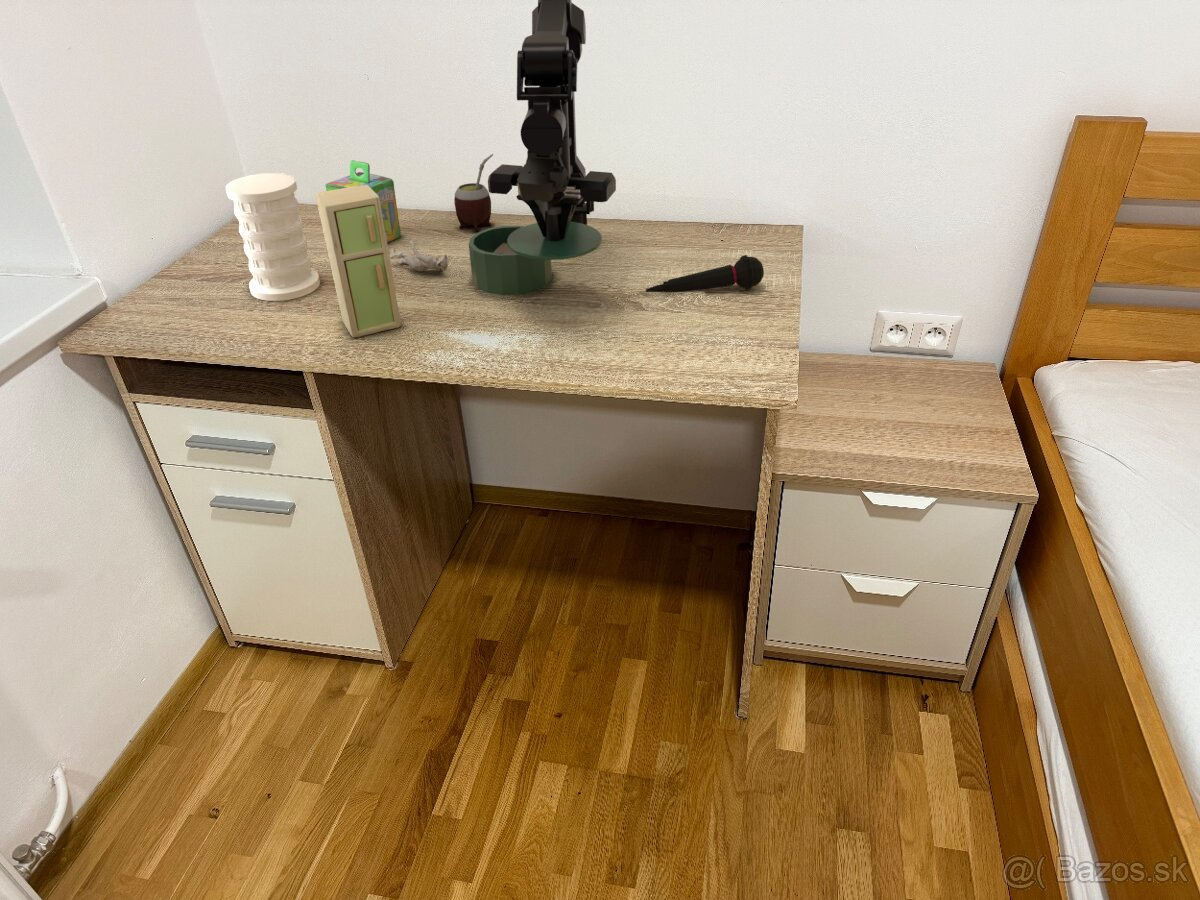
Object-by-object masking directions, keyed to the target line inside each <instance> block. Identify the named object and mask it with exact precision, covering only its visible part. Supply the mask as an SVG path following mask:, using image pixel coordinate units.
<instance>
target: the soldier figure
mask: <svg viewBox="0 0 1200 900" xmlns="http://www.w3.org/2000/svg"><path fill="white" fill-rule="evenodd" d="M408 243H409V244H410V246H411V249H412V252H413V253H414V256H413V255H412V254H411V253H410V252H409V251H407V250H403V251H400V252H396V248H394V247H392V248H391V249H390V254H389V258H390V260H391V259H394V258H395V259H400V260H398V264H399V265H402V264H408V265H409V266H410V267H411V268H412V269H413V270H415V271H416V272H419V273H420V272H425V271H426V270H435V271H437V272H440V271H441V270H443V271H444V272H446V271H447V269H448V264H449V263H448V261H449V260H448V259H449V258H448V256H447V254H445V255H443V256H441V257H439V258H437V257H436V256H432V255H425V254H421V253H420V252H419V251H418V248H417V247H416V245H415V244H416V243H415V242H414V240H410V241H409V242H408Z"/></svg>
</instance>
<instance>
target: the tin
mask: <svg viewBox="0 0 1200 900" xmlns="http://www.w3.org/2000/svg"><path fill="white" fill-rule="evenodd" d="M524 226H525V225H501V226H495V227H490V228H486V229H484V230H481V231H479V232H477V233H475V234H473V235H472V236H471V237H470V238H469V241H468V253H469V260H470V268H471V269H470V270H471V278H472V280H471V281H472V284H473V285H474V286H475V288H476V289H478V290H480V291H483V292H485V293H487V294H493V295H499V296H517V295H523V294H528V293H534V292H537V291H538V290H540V289H543V288H545V287H547V286H548V285H549V284H550V282H552V280H553V276H552V275H553V273H552V271H553V270H552V260H541V259H533V258H528V257H524V256H521V255H519V254H516V253H511V254H498V253H493V252H494V251H495V250H496V249H497V248H498V247H499V246H500V245H501V244H502V243H507V240H508V237H509V235H510V234H511V233H512V232H514V231H515V230H517V229H519V228H521V227H524Z"/></svg>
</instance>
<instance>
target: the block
mask: <svg viewBox="0 0 1200 900" xmlns="http://www.w3.org/2000/svg"><path fill="white" fill-rule="evenodd" d="M493 253H498V254H511V253H515V252H513V251H512V250H511V249H510V248H509V247H508V243H502V244H501V245H500V246H499V247H498V248H497V249H496V250H495V251H494V252H493Z"/></svg>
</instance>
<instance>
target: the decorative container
mask: <svg viewBox="0 0 1200 900" xmlns="http://www.w3.org/2000/svg"><path fill="white" fill-rule="evenodd" d="M297 190H298V184H297V181H296V178H295V176H293V175H290V174H286V173H281V172H280V173H277V172H266V173H256V174H251V175H246V176H242V177H238V178H236V179H233V180H232V181H231V180H230V182H228V183H227V184H226V185H225V192H226V195H227V197H228V199H229V200H231V201H233V204H234V205H233V212H234V213H233V214H234V216H235V218H236V219H237V221H238V232H239V234H240V237H241V238H242V240H243V251H244V253H245V255H246V256H247V258H248V270H249V272H250V274H251V275H252V277H253V278H251V280H250V281H249V283H248V287H249V291H250V294H251V296H253V298H255V299H258V300H262V301H268V302H269V301H270V302H283V301H289V300H294V299H299V298H302V297H304V296H307V295H309V294H311V293H313V292H315V291H316V290H317V289H318V288H319V287H320V285H321V281H320V277H319V273H318V272H317V271H316V270H315V269H312V268H311V265H312V261H311V260H312V259H311V256H310V254H309V253H308V250H307V249H308V248H307V247H308V241H307V238H306V236H305V235H304V232H303V230H304V223H303V220H302V217H301V216H300V215H299V213H300V212H299V210H300V204H299V201H298V199H297V198H296V195H295V192H296V191H297Z"/></svg>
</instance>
